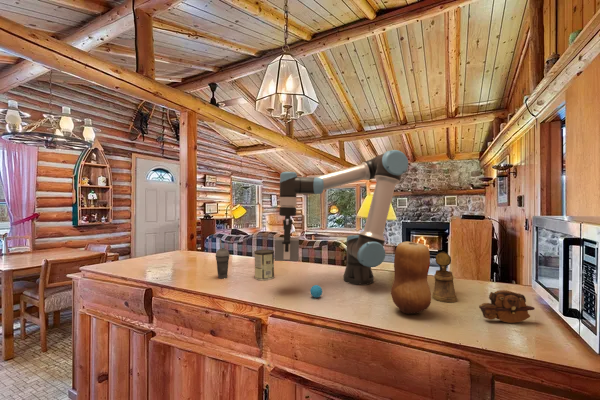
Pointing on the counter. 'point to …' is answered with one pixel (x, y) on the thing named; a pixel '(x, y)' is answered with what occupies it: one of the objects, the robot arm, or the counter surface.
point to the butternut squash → (411, 277)
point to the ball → (316, 291)
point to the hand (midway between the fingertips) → (287, 256)
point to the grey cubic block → (280, 249)
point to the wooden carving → (506, 307)
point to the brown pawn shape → (444, 280)
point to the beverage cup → (222, 262)
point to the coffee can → (264, 264)
